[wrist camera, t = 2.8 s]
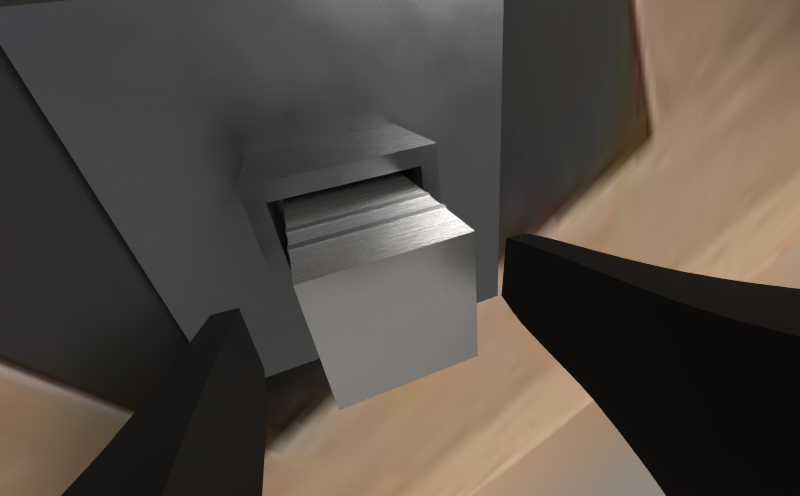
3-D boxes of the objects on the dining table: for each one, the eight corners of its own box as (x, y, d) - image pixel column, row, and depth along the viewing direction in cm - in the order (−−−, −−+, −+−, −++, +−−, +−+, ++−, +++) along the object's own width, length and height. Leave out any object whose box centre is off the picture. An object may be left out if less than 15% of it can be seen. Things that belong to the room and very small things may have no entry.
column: (307, 261, 15) (337, 411, 9) (279, 175, 13) (290, 284, 6) (391, 237, 16) (478, 356, 9) (377, 153, 14) (476, 228, 7)
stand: (223, 383, 17) (210, 472, 14) (-7, 12, 9) (-201, -28, 5) (492, 290, 21) (541, 339, 17) (495, -39, 13) (591, -84, 9)
